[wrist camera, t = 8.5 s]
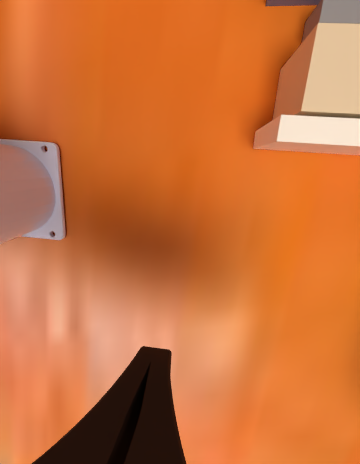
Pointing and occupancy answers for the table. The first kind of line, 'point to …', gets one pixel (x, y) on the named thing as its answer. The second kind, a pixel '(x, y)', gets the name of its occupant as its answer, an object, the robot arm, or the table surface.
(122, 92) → the table surface
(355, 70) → the book rack
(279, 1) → the boxed book
